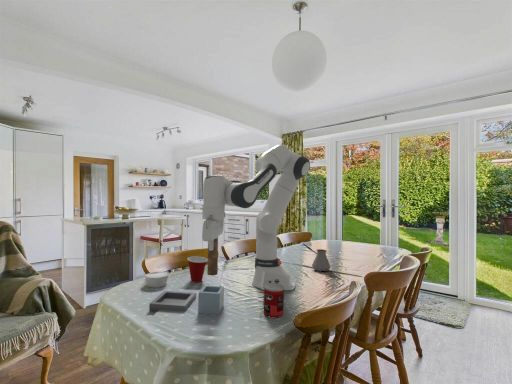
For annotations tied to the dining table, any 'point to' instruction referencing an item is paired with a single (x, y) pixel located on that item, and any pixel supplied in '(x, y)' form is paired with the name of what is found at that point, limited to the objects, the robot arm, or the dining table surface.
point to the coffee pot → (320, 260)
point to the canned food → (273, 300)
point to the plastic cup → (197, 268)
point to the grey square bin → (211, 299)
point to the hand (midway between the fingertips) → (213, 248)
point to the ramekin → (156, 279)
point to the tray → (172, 301)
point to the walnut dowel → (213, 259)
